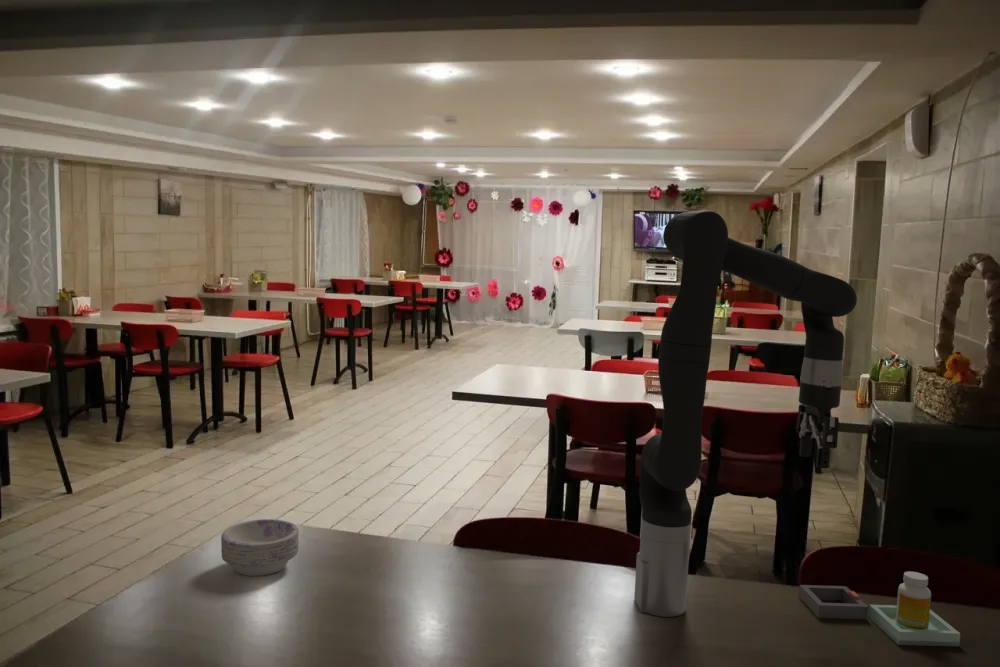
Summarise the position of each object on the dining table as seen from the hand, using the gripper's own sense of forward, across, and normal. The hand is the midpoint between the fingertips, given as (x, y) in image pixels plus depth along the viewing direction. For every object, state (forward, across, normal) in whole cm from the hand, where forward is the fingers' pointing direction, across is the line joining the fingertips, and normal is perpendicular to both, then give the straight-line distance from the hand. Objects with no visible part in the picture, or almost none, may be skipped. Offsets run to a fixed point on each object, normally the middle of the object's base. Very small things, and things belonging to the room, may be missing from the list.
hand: (813, 462), depth 159 cm
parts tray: (+27, +14, +15) cm, 34 cm away
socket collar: (+28, +5, +4) cm, 28 cm away
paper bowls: (+29, -4, -110) cm, 114 cm away
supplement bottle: (+27, +14, +15) cm, 34 cm away
